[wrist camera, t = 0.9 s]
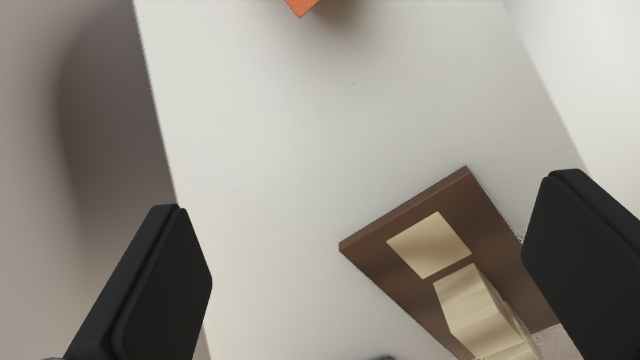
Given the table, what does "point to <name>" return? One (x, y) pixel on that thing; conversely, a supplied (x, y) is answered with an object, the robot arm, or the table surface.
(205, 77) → the table surface
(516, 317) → the beige wooden cube
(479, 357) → the cream wooden block
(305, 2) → the terracotta orange cube
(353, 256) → the word board
